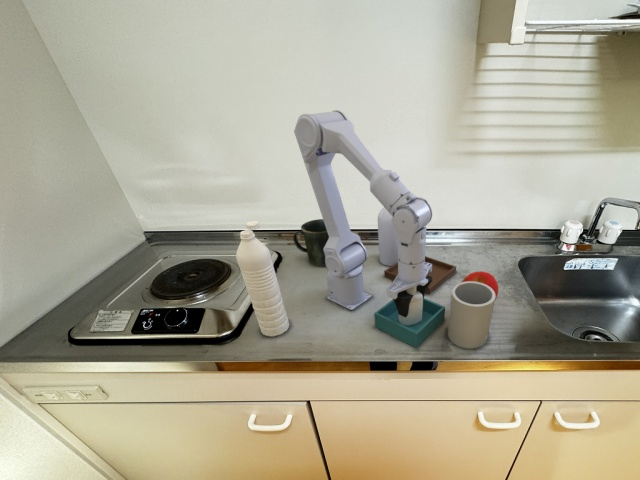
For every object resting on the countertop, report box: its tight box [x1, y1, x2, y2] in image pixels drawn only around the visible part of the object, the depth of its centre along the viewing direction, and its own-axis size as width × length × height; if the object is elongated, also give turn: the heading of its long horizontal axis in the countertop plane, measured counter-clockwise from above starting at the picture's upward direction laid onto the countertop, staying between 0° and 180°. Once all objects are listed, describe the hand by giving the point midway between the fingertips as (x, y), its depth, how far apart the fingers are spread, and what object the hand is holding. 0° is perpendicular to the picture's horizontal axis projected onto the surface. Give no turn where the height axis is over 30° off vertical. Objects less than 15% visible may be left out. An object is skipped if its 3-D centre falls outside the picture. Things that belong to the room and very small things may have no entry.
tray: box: [383, 255, 457, 295], centre depth 96 cm, size 16×15×2 cm
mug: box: [292, 218, 329, 267], centre depth 101 cm, size 11×15×12 cm
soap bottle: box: [377, 206, 398, 267], centre depth 97 cm, size 9×9×24 cm
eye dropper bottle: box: [399, 286, 423, 326], centre depth 74 cm, size 4×6×12 cm
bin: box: [374, 297, 446, 349], centre depth 76 cm, size 12×12×4 cm
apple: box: [461, 270, 499, 301], centre depth 78 cm, size 9×9×12 cm
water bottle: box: [235, 220, 290, 337], centre depth 70 cm, size 9×6×25 cm
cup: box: [447, 281, 497, 350], centre depth 71 cm, size 9×9×12 cm
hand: (410, 308), depth 75 cm, fingers closed on eye dropper bottle, 5 cm apart
